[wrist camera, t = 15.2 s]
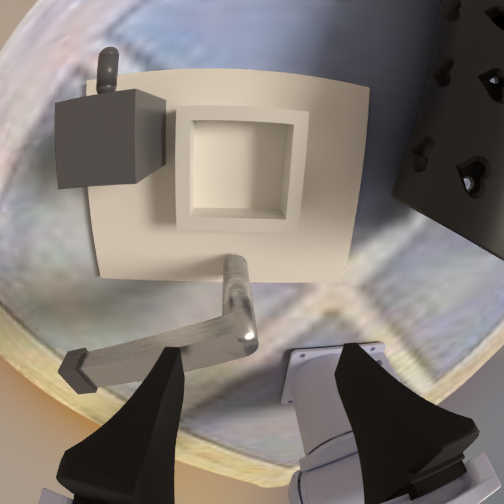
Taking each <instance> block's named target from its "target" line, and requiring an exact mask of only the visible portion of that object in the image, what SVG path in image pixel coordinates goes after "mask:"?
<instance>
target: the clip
mask: <svg viewBox="0 0 504 504" xmlns="http://www.w3.org/2000/svg"><path fill="white" fill-rule="evenodd" d="M166 346H167V347H180V351H181V358H182V364H183V371H184V372H186V371H191V370H195V369H199V368H204V367H208V366H212V365H216V364H220V363H224V362H228V361H231V360H235V359H239V358H242V357H246V356H249V355H251V354H253V353H254V352H255V351H256V350H257V348H258V337H257V329H256V322H255V315H254V308H253V301H252V293H251V286H250V279H249V272H248V264H247V261H246V259H245V258H244V257H242V256H240V255H231V256H229V257H227V258H226V259H225V261H224V264H223V304H222V316H221V317H218V318H214V319H211V320H208V321H204V322H201V323H197V324H194V325H190V326H187V327H183V328H180V329H176V330H173V331H169V332H165V333H162V334H158V335H154V336H150V337H147V338H143V339H139V340H135V341H131V342H127V343H123V344H119V345H115V346H111V347H107V348H103V349H98V350H94V351H90V352H88V351H87V350H86V348H81V349H77V350H73V351H69V352H68V353H67V354H66V356H65V358H64V360H63V362H62V364H61V366H60V368H59V370H58V373H59V374H60V375H61V377H62V378H63V379H64V380H65V381H66V382H67V383H68V384H69V385H70V386H71V387H72V388H73V389H74V391H75V392H76V393H77V394H86V393H95V392H96V391H97V388H98V387H104V386H111V385H117V384H124V383H130V382H136V381H141V380H144V379H145V378H146V377H147V375H148V374H149V372H150V371H151V369H152V368H153V366H154V364H155V363H156V361H157V360H158V358H159V356H160V354H161V353H162V351H163V349H164V348H165V347H166Z"/></svg>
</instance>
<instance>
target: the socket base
mask: <svg viewBox="0 0 504 504" xmlns="http://www.w3.org/2000/svg"><path fill="white" fill-rule="evenodd" d="M96 82H97V79H93V80H88V81H87V87H86V96H90V95H95V94H97V91H96ZM128 89H138V90H141V91H144V92H146V93H149V94H152V95H155V96H157V97H160V98H162V99H165V100H166V164H165V165H164V166H162V167H161V168H159V169H158V170H156V171H155V172H153V173H152V174H150V175H149V176H147V177H146V178H144V179H143V180H141V181H140V182H138V183H137V184H124V185H106V186H91V187H88V196H89V206H90V215H91V223H92V230H93V237H94V243H95V249H96V255H97V261H98V266H99V271H100V276H101V278H109V279H131V280H158V281H193V282H223V264H224V261H225V259H226V258H227V257H229V256H231V255H240V256H242V257H244V258H245V259H246V261H247V264H248V272H249V279H250V282H265V283H297V282H343V278H344V274H345V269H346V265H347V260H348V255H349V250H350V245H351V239H352V234H353V229H354V223H355V217H356V211H357V205H358V198H359V192H360V185H361V177H362V170H363V162H364V153H365V144H366V133H367V122H368V109H369V93H370V88H369V87H365V86H360V85H356V84H351V83H347V82H342V81H337V80H331V79H326V78H320V77H314V76H307V75H300V74H292V73H284V72H274V71H262V70H247V69H176V70H161V71H149V72H140V73H131V74H124V75H117V87H116V91H121V90H128Z"/></svg>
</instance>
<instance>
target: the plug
mask: <svg viewBox="0 0 504 504" xmlns="http://www.w3.org/2000/svg"><path fill="white" fill-rule="evenodd" d="M118 60H119V52H118V50H117V49H116V48H114V47H106V48H104V49H103V50H102V51H101V52H100V54H99V57H98V68H97V82H96V91H97V94H95V95H90V96H85V97H80V98H75V99H70V100H66V101H62V102H57V103H55V153H56V169H57V180H58V189H66V188H78V187H91V186H106V185H124V184H137V183H138V182H140V181H141V180H143V179H144V178H146V177H147V176H149V175H150V174H152V173H153V172H155V171H156V170H158V169H159V168H161V167H162V166H164V165H165V164H166V100H165V99H162V98H160V97H157V96H155V95H152V94H149V93H146V92H144V91H141V90H138V89H128V90H121V91H116V87H117V73H118Z"/></svg>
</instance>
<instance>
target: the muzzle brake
mask: <svg viewBox="0 0 504 504" xmlns="http://www.w3.org/2000/svg"><path fill="white" fill-rule="evenodd" d="M494 77H495V78H494ZM492 78H494V79H495V84H494V83H492V82H490V79H492ZM464 178H468V179H469V180H470V182H471V186H470V188H469V189H468V190H467V189H466V186H465V183H464V180H463V179H464ZM391 195H392V197H393V198H395V199H396V200H398V201H400V202H401V203H403V204H405V205H407V206H409V207H411V208H412V209H414V210H416V211H418V212H420V213H421V214H423V215H425V216H427V217H429V218H430V219H432V220H434V221H436V222H438V223H439V224H441V225H443V226H445V227H447V228H448V229H450V230H452V231H454V232H455V233H457V234H459V235H461V236H462V237H464V238H466V239H467V240H469V241H471V242H473V243H474V244H476V245H478V246H479V247H481V248H483V249H484V250H486V251H488V252H489V253H491V254H493V255H495V256H496V257H498V258H500V259H502V260H503V261H504V0H441V5H440V13H439V20H438V26H437V33H436V38H435V44H434V49H433V54H432V59H431V64H430V68H429V73H428V77H427V81H426V85H425V89H424V93H423V97H422V101H421V104H420V108H419V112H418V115H417V119H416V122H415V125H414V129H413V132H412V135H411V138H410V141H409V145H408V148H407V151H406V154H405V157H404V160H403V162H402V165H401V168H400V171H399V174H398V177H397V179H396V182H395V185H394V187H393V190H392V193H391Z"/></svg>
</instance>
